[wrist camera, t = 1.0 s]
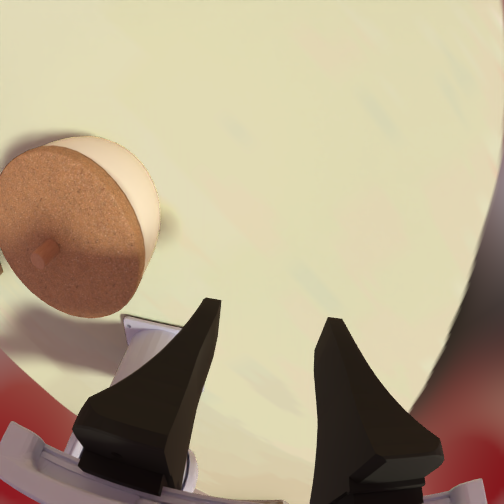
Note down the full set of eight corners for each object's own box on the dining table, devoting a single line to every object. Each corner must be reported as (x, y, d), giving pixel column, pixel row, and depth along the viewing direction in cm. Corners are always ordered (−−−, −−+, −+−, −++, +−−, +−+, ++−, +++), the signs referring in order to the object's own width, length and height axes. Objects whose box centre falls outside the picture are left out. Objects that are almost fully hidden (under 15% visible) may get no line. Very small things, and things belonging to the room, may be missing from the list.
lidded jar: (84, 259, 25) (25, 333, 18) (41, 142, 20) (-46, 189, 12) (197, 247, 24) (157, 340, 16) (161, 101, 18) (78, 131, 10)
